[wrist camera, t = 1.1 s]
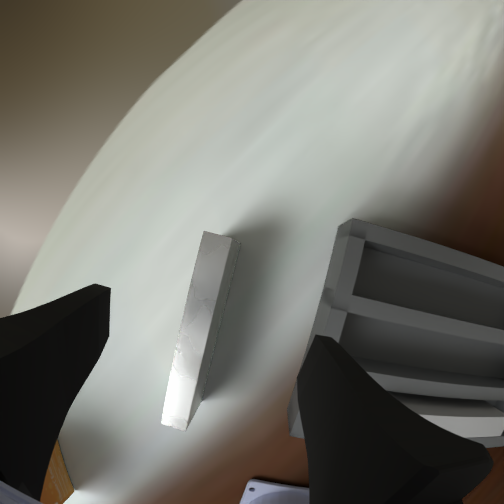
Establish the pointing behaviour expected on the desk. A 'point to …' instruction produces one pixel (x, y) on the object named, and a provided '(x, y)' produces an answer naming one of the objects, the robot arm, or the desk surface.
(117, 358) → the desk surface
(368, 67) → the desk surface
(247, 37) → the desk surface
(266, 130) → the desk surface
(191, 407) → the panel
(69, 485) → the small box
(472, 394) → the rack
